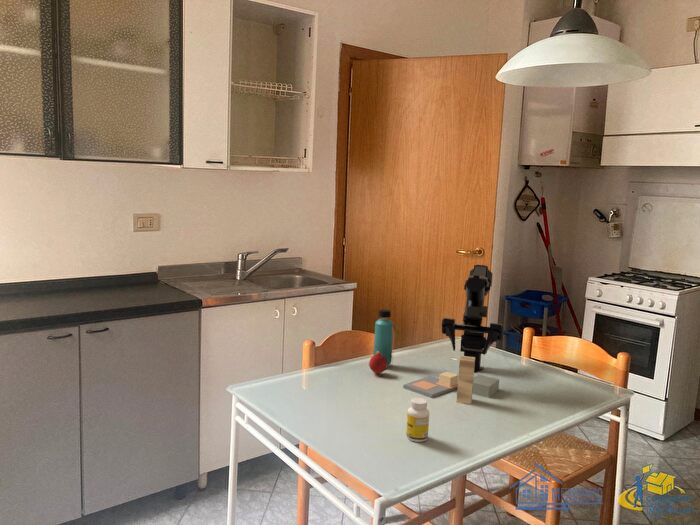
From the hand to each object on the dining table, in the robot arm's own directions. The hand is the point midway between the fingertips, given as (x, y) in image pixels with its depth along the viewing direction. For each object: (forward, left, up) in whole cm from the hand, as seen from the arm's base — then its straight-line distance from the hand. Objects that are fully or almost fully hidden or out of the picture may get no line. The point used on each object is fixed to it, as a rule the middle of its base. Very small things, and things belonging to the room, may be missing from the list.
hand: (469, 352), depth 179 cm
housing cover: (-6, +3, -13) cm, 14 cm away
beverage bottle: (+1, -33, -13) cm, 36 cm away
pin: (+6, +4, -13) cm, 15 cm away
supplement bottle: (+38, +11, -13) cm, 42 cm away
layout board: (+5, -9, -13) cm, 17 cm away
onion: (+9, -28, -13) cm, 33 cm away
